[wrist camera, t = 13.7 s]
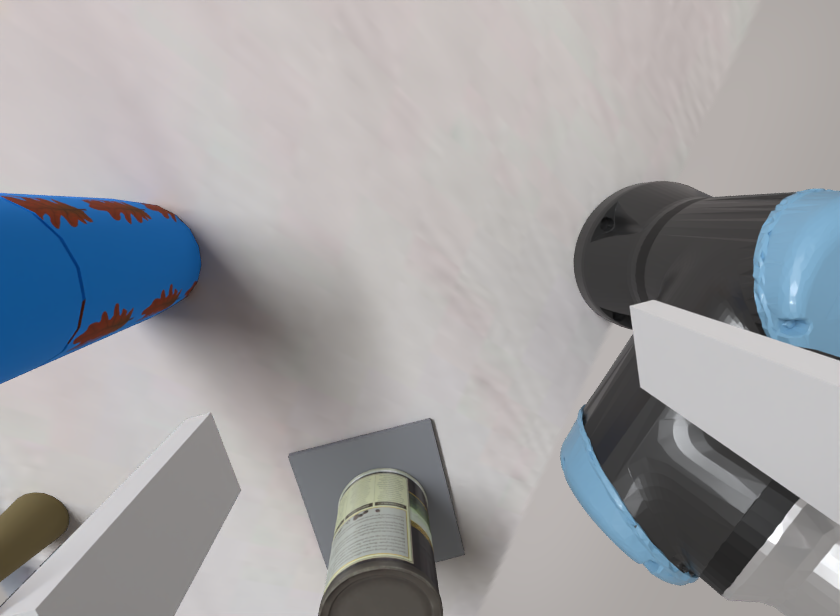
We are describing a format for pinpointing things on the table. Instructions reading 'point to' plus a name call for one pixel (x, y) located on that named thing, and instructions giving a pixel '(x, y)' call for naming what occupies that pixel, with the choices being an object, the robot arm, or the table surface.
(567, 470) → the robot arm
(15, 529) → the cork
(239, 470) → the table surface
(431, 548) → the coffee can
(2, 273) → the thermos
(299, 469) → the placemat
